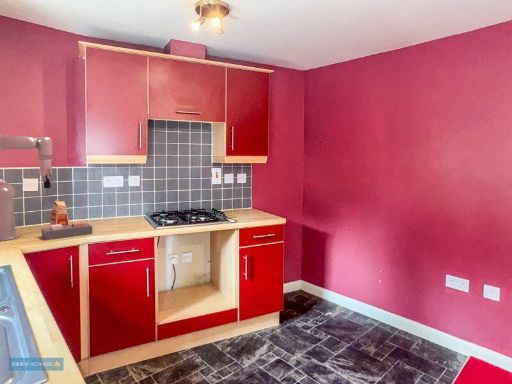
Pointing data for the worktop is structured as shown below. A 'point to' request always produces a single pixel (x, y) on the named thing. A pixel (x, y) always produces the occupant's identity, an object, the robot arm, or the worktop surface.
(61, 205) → the milk carton
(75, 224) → the terracotta key
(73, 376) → the worktop surface
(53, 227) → the ivory key
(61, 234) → the key block
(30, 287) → the worktop surface
